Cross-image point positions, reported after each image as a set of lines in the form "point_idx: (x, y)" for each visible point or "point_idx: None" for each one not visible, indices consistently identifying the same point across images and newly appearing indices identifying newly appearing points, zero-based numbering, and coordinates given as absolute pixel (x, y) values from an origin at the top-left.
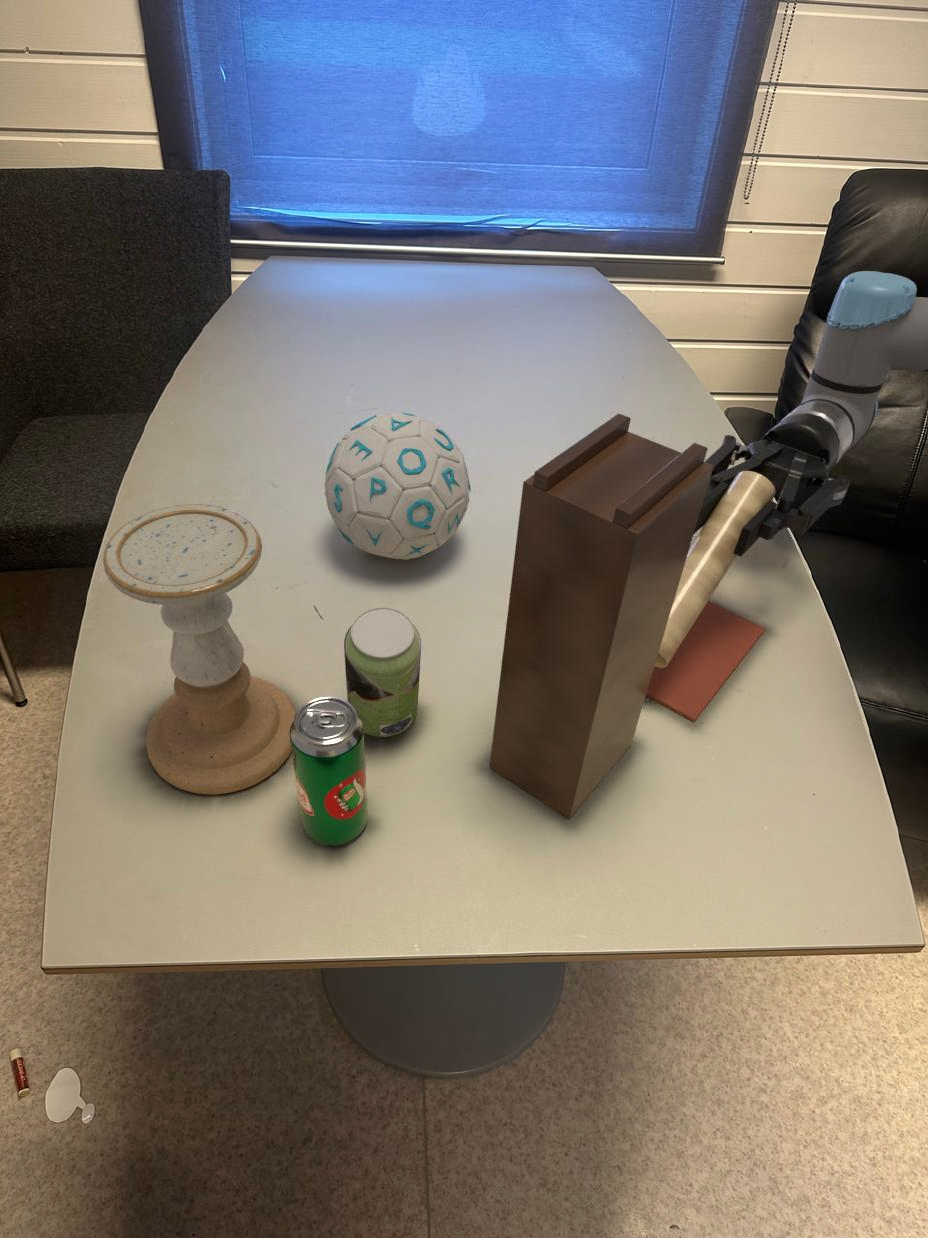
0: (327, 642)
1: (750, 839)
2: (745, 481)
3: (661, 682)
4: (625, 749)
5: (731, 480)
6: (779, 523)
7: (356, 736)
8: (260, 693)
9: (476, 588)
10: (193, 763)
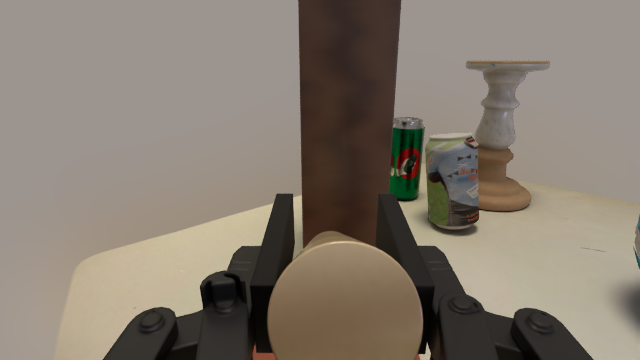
0: (547, 239)
1: (192, 261)
2: (359, 241)
3: None
4: None
5: (441, 354)
6: (228, 270)
7: (393, 124)
8: (494, 188)
9: (590, 336)
10: None
